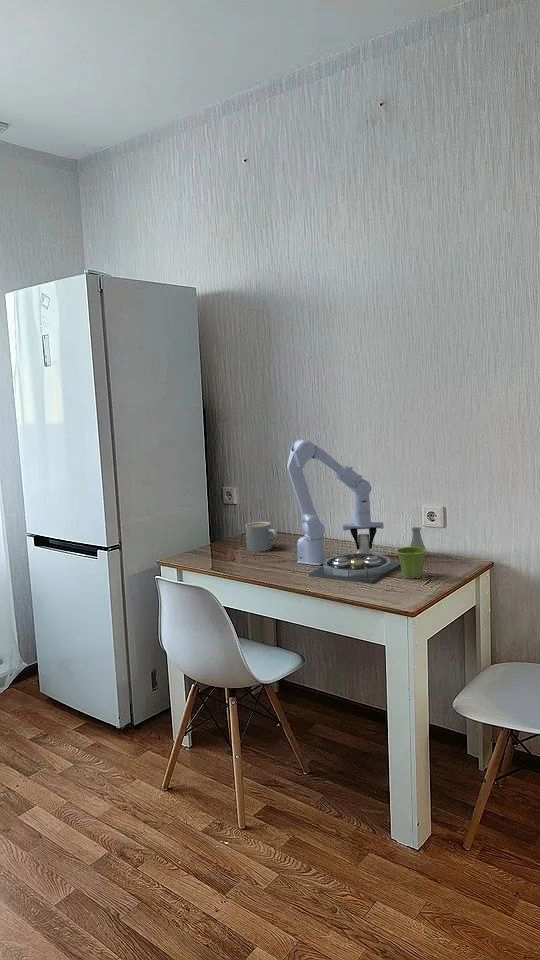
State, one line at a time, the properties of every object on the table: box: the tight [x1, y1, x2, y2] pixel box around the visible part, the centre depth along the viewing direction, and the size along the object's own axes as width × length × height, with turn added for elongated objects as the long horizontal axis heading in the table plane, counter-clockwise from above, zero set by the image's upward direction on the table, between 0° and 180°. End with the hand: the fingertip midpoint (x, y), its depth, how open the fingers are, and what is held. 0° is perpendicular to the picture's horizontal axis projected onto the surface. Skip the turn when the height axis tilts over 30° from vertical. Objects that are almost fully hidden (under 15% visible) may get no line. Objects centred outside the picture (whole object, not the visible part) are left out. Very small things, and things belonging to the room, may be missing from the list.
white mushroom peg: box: [355, 533, 374, 554], centre depth 249 cm, size 6×6×8 cm
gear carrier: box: [308, 552, 401, 584], centre depth 232 cm, size 24×24×4 cm
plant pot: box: [396, 546, 427, 580], centre depth 220 cm, size 9×9×9 cm
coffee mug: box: [244, 521, 279, 553], centre depth 270 cm, size 13×10×10 cm
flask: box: [409, 526, 429, 557], centre depth 245 cm, size 7×7×10 cm
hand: (364, 548), depth 249 cm, fingers closed on white mushroom peg, 4 cm apart
